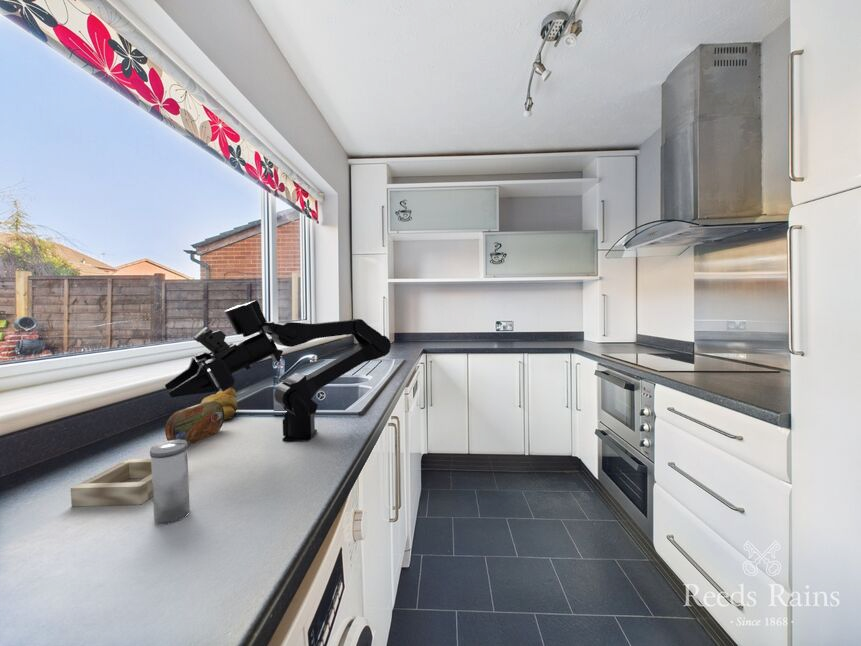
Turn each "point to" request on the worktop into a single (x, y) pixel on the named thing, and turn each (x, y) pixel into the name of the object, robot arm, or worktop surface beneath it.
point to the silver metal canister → (170, 481)
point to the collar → (116, 485)
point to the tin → (195, 422)
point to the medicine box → (276, 405)
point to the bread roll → (224, 401)
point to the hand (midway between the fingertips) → (167, 391)
